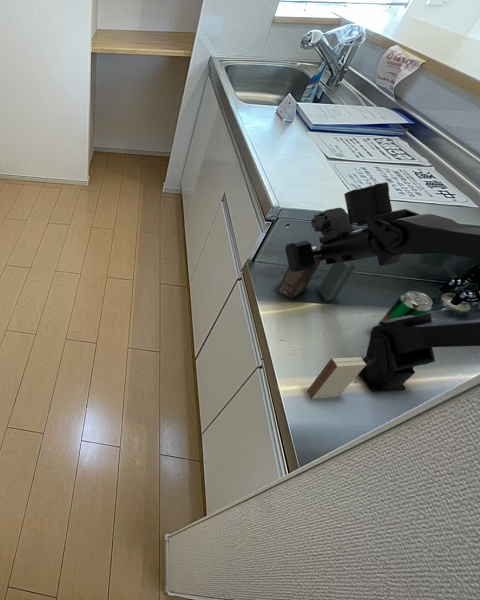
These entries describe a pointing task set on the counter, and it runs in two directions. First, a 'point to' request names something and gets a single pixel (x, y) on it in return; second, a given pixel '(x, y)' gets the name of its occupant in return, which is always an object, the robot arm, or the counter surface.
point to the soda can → (409, 306)
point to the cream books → (335, 377)
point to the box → (297, 279)
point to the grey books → (335, 279)
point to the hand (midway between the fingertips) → (301, 256)
